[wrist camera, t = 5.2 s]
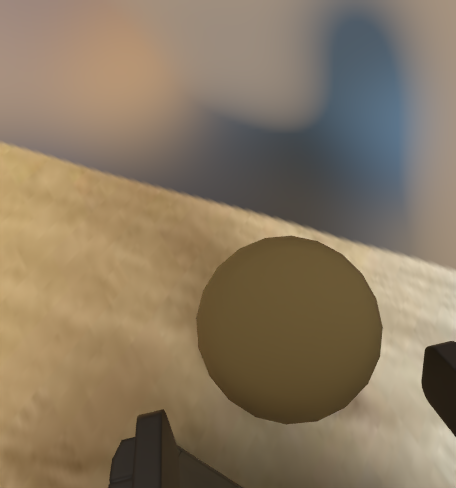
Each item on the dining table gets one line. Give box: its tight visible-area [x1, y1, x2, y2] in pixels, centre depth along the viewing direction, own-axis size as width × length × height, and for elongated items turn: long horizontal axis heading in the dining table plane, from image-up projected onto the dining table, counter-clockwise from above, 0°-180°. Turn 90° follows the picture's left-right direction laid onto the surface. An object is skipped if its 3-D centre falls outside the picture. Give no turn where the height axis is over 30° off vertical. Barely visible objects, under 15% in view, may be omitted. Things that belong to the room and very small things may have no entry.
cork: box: [197, 236, 383, 424], centre depth 14 cm, size 6×6×11 cm
